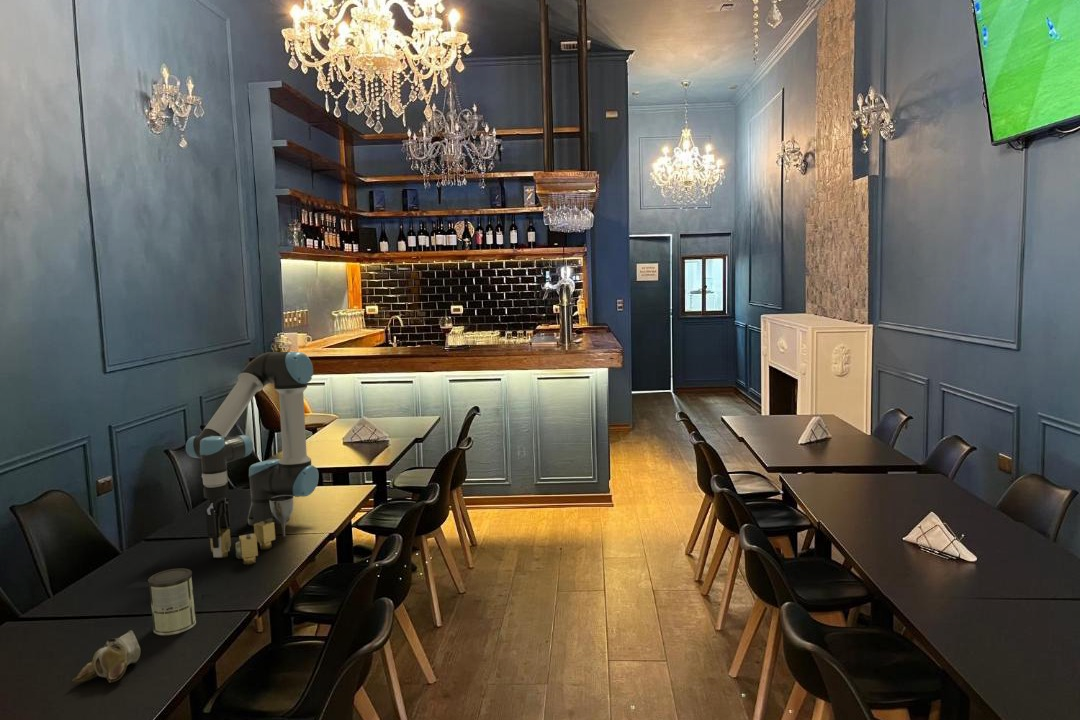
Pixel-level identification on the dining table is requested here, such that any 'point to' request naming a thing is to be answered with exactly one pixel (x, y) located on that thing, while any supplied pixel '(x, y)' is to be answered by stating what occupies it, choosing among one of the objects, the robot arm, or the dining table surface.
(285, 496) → the grey funnel
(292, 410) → the robot arm
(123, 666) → the ceramic sculpture
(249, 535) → the knob
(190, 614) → the coffee can
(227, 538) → the knob
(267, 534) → the knob
